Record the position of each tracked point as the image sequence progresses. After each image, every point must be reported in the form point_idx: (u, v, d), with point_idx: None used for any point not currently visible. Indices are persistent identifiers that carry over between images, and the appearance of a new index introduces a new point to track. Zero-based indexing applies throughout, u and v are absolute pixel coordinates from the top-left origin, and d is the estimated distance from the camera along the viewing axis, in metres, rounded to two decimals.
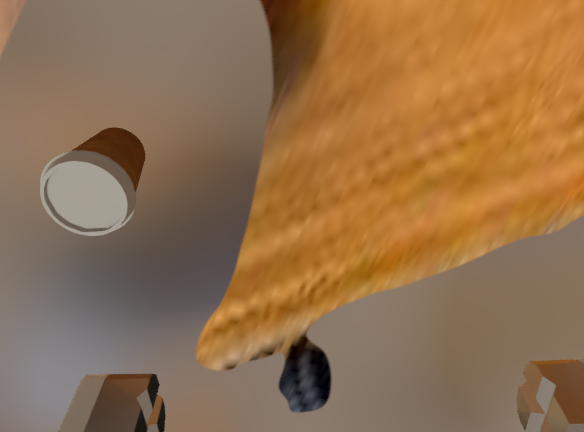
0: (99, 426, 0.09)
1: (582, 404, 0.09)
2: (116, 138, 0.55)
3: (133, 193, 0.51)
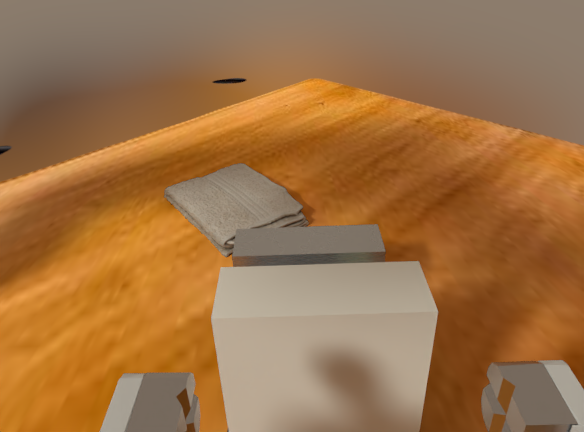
0: (142, 425, 0.09)
1: (540, 405, 0.09)
2: None
3: None
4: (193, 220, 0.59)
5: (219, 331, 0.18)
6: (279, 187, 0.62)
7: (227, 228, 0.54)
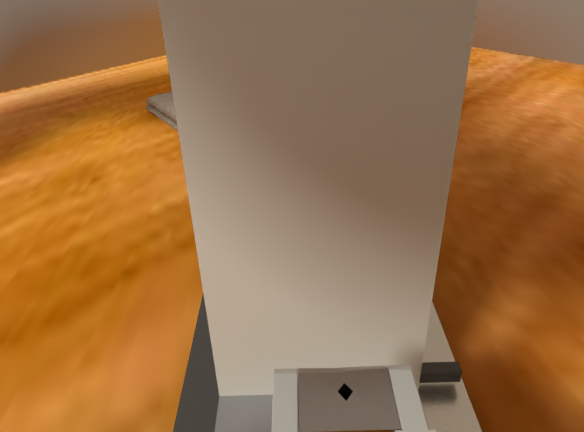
0: (312, 420, 0.09)
1: (370, 411, 0.09)
2: None
3: None
4: None
5: None
6: None
7: None
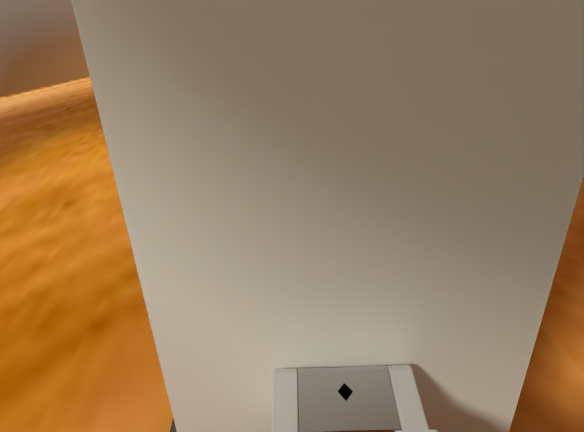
0: (312, 420, 0.09)
1: (370, 411, 0.09)
2: None
3: None
4: None
5: None
6: None
7: None
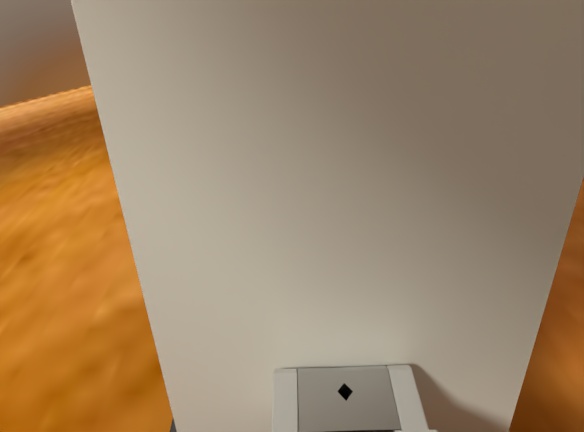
0: (312, 420, 0.09)
1: (370, 411, 0.09)
2: None
3: None
4: None
5: None
6: None
7: None
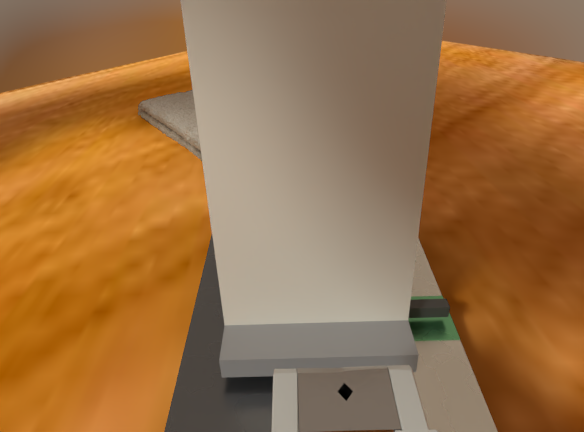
0: (312, 420, 0.09)
1: (370, 411, 0.09)
2: None
3: None
4: (171, 132, 0.48)
5: None
6: None
7: None
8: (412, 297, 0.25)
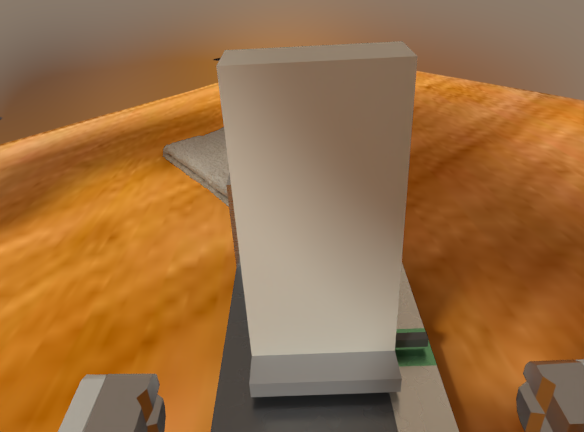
0: (100, 426, 0.09)
1: (582, 404, 0.09)
2: None
3: None
4: (194, 175, 0.55)
5: (223, 81, 0.20)
6: None
7: None
8: (400, 329, 0.31)
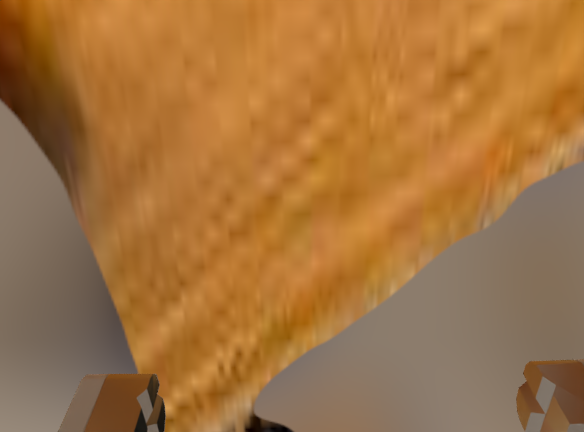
0: (100, 426, 0.09)
1: (582, 404, 0.09)
2: None
3: None
4: None
5: None
6: None
7: None
8: None
